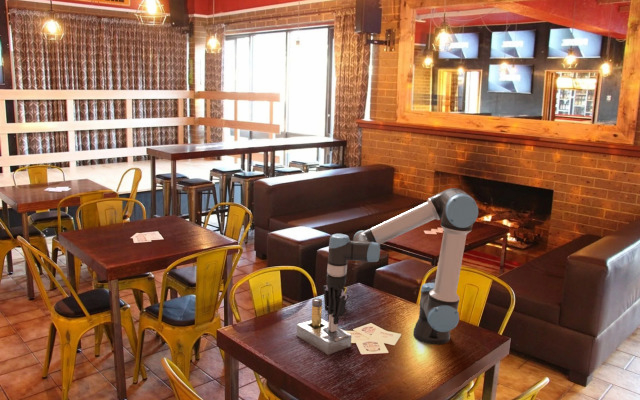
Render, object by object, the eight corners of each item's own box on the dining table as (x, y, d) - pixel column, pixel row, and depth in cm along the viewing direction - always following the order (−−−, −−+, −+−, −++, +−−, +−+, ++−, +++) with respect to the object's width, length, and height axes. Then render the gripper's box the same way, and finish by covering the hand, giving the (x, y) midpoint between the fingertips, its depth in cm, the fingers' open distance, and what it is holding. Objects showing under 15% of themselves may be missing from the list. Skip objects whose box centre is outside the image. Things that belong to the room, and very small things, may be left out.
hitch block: (296, 335, 234) (297, 324, 233) (319, 328, 242) (319, 317, 241) (328, 354, 219) (328, 342, 218) (350, 346, 227) (351, 334, 226)
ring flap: (322, 330, 225) (322, 328, 224) (335, 326, 229) (335, 323, 228) (335, 343, 219) (336, 340, 218) (348, 338, 223) (349, 335, 223)
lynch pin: (322, 336, 234) (324, 300, 230) (315, 339, 231) (316, 303, 228) (316, 333, 237) (317, 297, 233) (308, 336, 234) (310, 299, 231)
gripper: (355, 277, 217) (351, 334, 222) (332, 266, 227) (328, 321, 232) (341, 281, 212) (336, 339, 217) (317, 270, 222) (314, 325, 227)
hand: (332, 330), depth 224 cm, fingers closed, pressing on ring flap
